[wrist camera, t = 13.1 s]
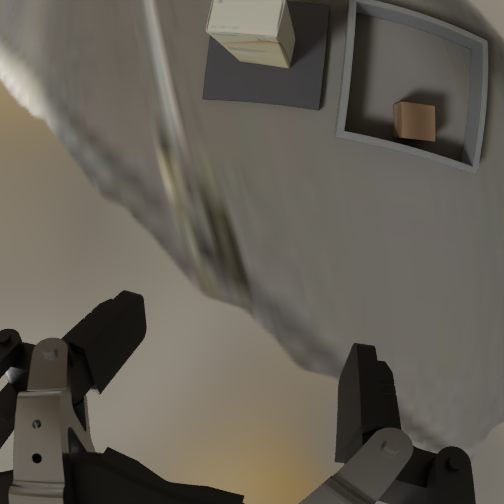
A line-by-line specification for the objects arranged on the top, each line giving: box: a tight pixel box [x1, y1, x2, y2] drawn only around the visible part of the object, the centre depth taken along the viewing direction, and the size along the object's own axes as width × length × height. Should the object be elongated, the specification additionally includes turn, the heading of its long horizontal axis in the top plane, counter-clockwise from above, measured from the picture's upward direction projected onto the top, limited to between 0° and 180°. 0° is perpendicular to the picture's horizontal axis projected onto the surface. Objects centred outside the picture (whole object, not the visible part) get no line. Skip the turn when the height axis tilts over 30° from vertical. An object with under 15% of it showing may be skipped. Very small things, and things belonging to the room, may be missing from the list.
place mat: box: [202, 2, 329, 110], centre depth 30 cm, size 14×14×1 cm
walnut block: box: [393, 102, 435, 142], centre depth 28 cm, size 4×4×4 cm
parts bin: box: [334, 0, 488, 175], centre depth 26 cm, size 18×18×4 cm
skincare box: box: [206, 0, 295, 68], centre depth 24 cm, size 6×4×12 cm
